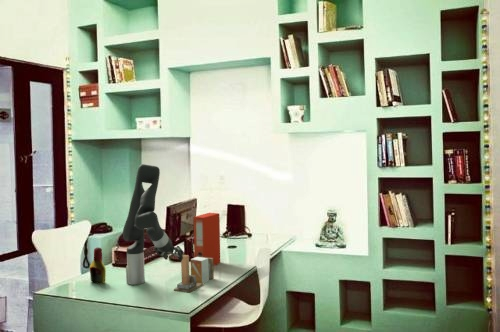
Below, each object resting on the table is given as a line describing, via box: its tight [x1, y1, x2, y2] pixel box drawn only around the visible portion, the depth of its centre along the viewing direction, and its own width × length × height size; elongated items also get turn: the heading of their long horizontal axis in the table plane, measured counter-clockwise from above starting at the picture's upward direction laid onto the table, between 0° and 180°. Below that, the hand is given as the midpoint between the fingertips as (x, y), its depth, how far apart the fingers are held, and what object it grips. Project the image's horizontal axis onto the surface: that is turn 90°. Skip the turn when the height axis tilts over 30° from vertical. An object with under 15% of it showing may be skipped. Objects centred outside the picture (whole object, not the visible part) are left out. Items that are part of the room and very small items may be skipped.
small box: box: [190, 257, 210, 284], centre depth 268 cm, size 8×6×13 cm
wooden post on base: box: [176, 254, 196, 290], centre depth 255 cm, size 7×8×17 cm
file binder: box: [193, 212, 221, 267], centre depth 301 cm, size 8×17×32 cm, turn 150°
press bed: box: [173, 257, 215, 294], centre depth 263 cm, size 10×26×12 cm, turn 156°
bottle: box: [89, 247, 107, 285], centre depth 271 cm, size 12×6×20 cm, turn 48°
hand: (174, 258), depth 244 cm, fingers open, 8 cm apart
